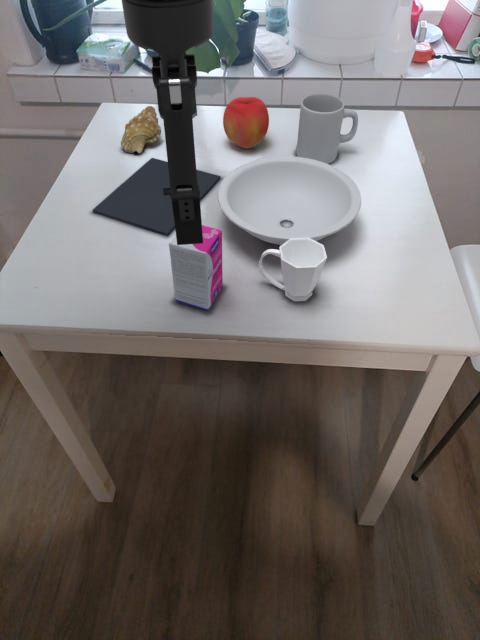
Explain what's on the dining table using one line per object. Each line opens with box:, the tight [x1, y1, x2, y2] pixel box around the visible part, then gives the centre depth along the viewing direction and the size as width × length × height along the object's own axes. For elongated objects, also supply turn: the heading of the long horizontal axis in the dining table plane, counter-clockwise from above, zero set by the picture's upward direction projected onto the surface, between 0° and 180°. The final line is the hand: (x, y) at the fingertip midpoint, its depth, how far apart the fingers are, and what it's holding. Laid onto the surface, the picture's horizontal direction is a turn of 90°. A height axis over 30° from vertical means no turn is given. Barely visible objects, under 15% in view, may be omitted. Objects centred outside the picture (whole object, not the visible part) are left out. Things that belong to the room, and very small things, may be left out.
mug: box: [295, 93, 359, 165], centre depth 99 cm, size 12×8×11 cm
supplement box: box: [168, 224, 224, 312], centre depth 71 cm, size 6×6×12 cm
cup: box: [257, 238, 328, 302], centre depth 73 cm, size 7×10×8 cm
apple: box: [222, 96, 270, 150], centre depth 102 cm, size 10×10×10 cm
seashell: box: [120, 105, 162, 155], centre depth 105 cm, size 9×8×10 cm
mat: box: [92, 157, 221, 237], centre depth 93 cm, size 16×20×1 cm
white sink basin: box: [217, 155, 362, 246], centre depth 84 cm, size 24×24×7 cm
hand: (187, 204), depth 56 cm, fingers open, 13 cm apart
